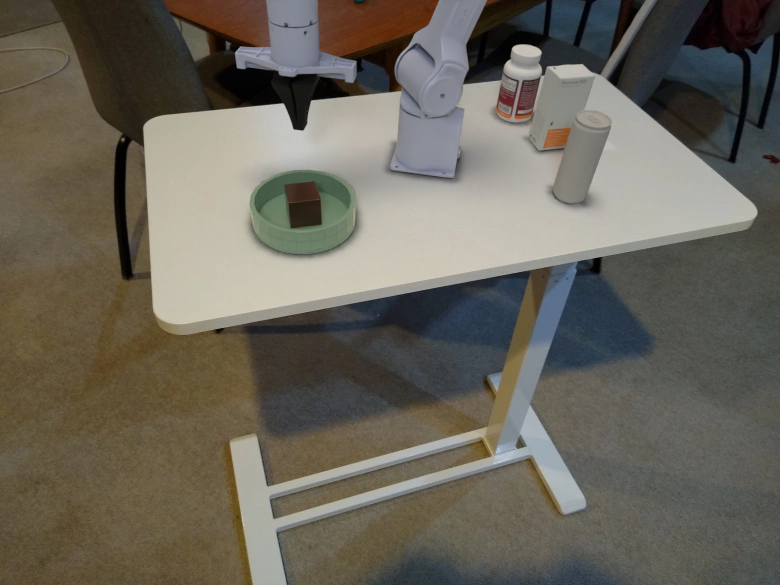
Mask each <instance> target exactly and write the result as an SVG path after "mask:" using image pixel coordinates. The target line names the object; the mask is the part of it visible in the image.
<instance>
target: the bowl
mask: <svg viewBox="0 0 780 585" xmlns="http://www.w3.org/2000/svg"><path fill="white" fill-rule="evenodd" d="M312 181H315V182H316V185H317V188H318V192H319V195H320V198H321V215H322V224H321V225H314V226H306V227H298V228H291V227H290V223H289V219H288V214H287V210H286V201H285V190H284V184H293V183H302V182H312ZM248 204H249V211H250V217H251V223H252V228H253V232H254V233H255V235H256V237H257V238H258V239H259V240H260V241H261V242H262V243H263V244H265V245H266V246H268V247H269V248H271V249H273V250H276V251H279V252H282V253H287V254H292V255H293V254H294V255H295V254H296V255H311V254H318V253H319V254H320V253H323V252H326V251H329V250H332V249H334V248H336V247H338V246H339V245H341V244H343V243H344V242H345V241H346V240H347V239H348V238H349V237H350V236H351V234H352V233H353V232H354V229H355V225H356V219H357V217H356V216H357V215H356V214H357V212H356V209H357V207H356V206H357V202H356V193H355V192H354V189H353V188H352V187H351V186H350V184H348V182H346V181H345V180H344V179H342V178H341V177H339V176H337V175H335V174H333V173H332V174H331V173H330V172H329V173H328V172H325V171H322V170H315V169H294V170H288V171H283V172H280V173H276V174H273V175H271V176H269V177H267V178H266V179H264V180H262V181H261V182H260V183H258V184H257V185H256V186H255V187H254V188H253V190H252V192H251V193H250V197H249V203H248Z"/></svg>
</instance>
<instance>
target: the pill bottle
mask: <svg viewBox="0 0 780 585" xmlns="http://www.w3.org/2000/svg"><path fill="white" fill-rule="evenodd" d="M541 57H542V50H541V49H540V48H539V47H537V46H533V45H531V44H516V45H514V46H513V47H512V48H511V52H510V59H508V60H507V61H506V63H505V64H504V66H503V70H502V75H501V80H500V86H499V91H498V95H497V96H498V97H497V102H496V108H495V112H496V115H497V116H498V117H499V118H500V119H502V120H504V121H505V122H512V123H525V122H527V121H528V120H530V119H531V118H532V116H533V113H534V108H535V104H536V99H537V95H538V90H539V88H540V83H541V79H542V74H543V67H542V65H541V64H540V61H541Z"/></svg>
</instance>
